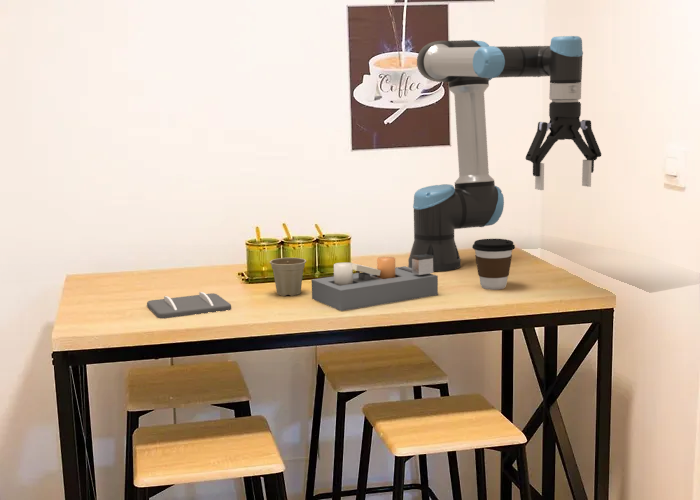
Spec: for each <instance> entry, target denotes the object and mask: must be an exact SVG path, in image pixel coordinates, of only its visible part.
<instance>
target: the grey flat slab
mask: <svg viewBox="0 0 700 500" xmlns="http://www.w3.org/2000/svg"><path fill="white" fill-rule="evenodd" d="M146 307H147V308H148V309H149V310H150V311H151V312H152V313H153V315H155V317H157V318H158V319H170V318H178V317H179V318H180V317H187V316H194V315H195V314H196V315H202V314H201V313H204V314H209V313H208V312H212V313H217V312H216V311H220V312H226V310H228V311H232V304H231V303H230V302H228V301H227V300H225V299H224V298H223V297H222V296H220V295H219V294H218V293H205V292H204V291H199V293H198V294H195V295H187V296H178V297H176V296H175V297H170V296H166V295H165V296H164V297H163V298H160V299H151V300H148V301H147V302H146Z"/></svg>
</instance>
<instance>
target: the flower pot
mask: <svg viewBox="0 0 700 500" xmlns="http://www.w3.org/2000/svg"><path fill="white" fill-rule="evenodd" d="M305 263H307V260H306V259H305V258H301V257H281V258H274V259H271V260H269V264H270V265H271V269H272V270H273V277H274V283H275V289H276V294H277V295H278V296H283V297H286V296H297V295H300V294H301V293H302V284H303V275H304V274H303V273H304V269H305V265H306V264H305Z"/></svg>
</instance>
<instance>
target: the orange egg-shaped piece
mask: <svg viewBox="0 0 700 500" xmlns="http://www.w3.org/2000/svg"><path fill="white" fill-rule="evenodd" d="M395 268H396V258H395V257H394V256H380V257H377V258H376V269H378V270H381V272H380V276H378V275H377V277H378V278H381V279H388V278H395V277H396V273H395Z"/></svg>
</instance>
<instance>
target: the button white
mask: <svg viewBox="0 0 700 500" xmlns="http://www.w3.org/2000/svg"><path fill="white" fill-rule="evenodd" d="M352 263H353V262H350V263H349V262H336V263H334V264H333V276H334V284H336V285H338V286H341V285H348V284H353V274H354V273H353V271H354V270H353V269H352Z"/></svg>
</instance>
